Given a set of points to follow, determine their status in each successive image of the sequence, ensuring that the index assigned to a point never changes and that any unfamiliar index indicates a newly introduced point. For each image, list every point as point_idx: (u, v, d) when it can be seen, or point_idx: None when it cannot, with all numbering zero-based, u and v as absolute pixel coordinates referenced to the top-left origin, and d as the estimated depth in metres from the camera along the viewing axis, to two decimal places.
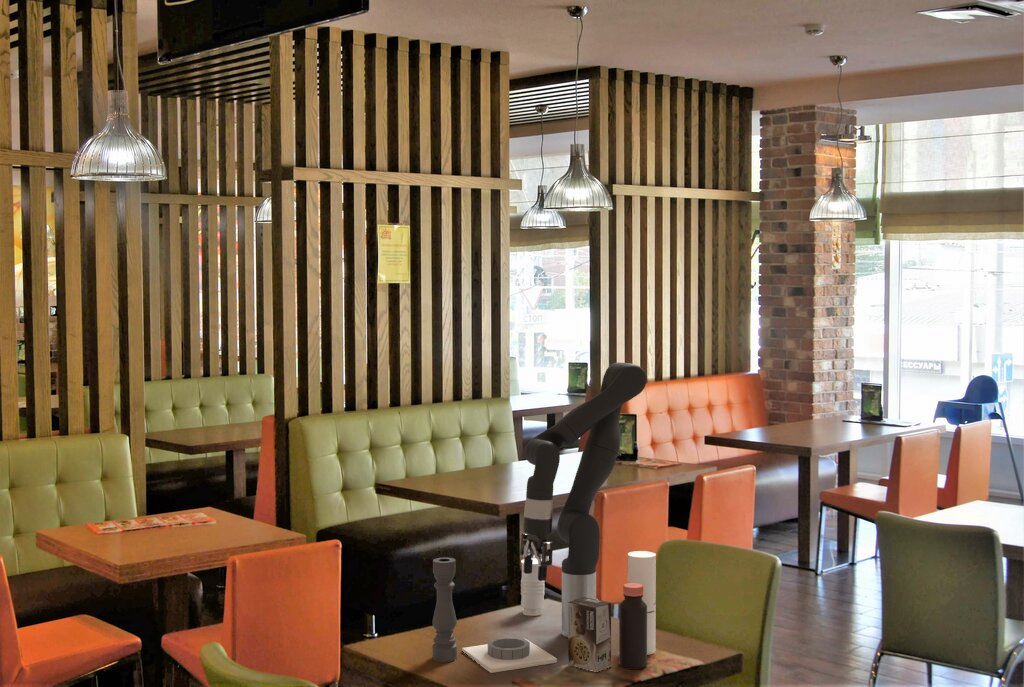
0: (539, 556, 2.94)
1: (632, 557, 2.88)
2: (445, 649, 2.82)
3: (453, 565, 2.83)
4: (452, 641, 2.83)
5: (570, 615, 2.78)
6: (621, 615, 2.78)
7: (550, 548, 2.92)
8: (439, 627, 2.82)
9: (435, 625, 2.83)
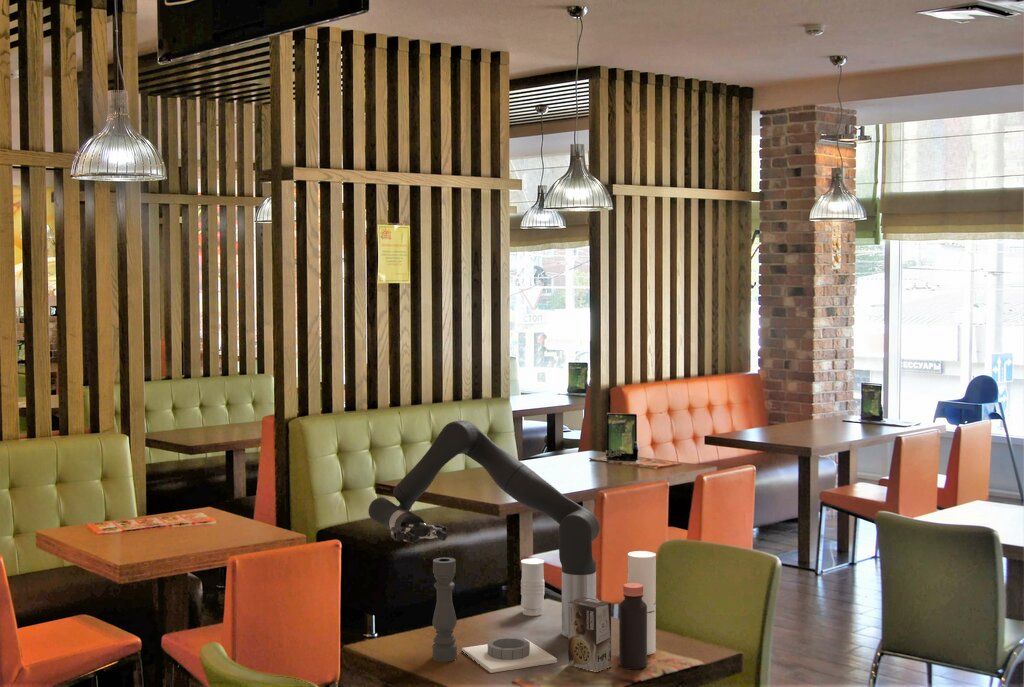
0: None
1: (632, 557, 2.88)
2: (445, 649, 2.82)
3: (453, 565, 2.83)
4: (452, 641, 2.83)
5: (570, 615, 2.78)
6: (621, 615, 2.78)
7: (392, 531, 2.98)
8: (439, 627, 2.82)
9: (435, 625, 2.83)
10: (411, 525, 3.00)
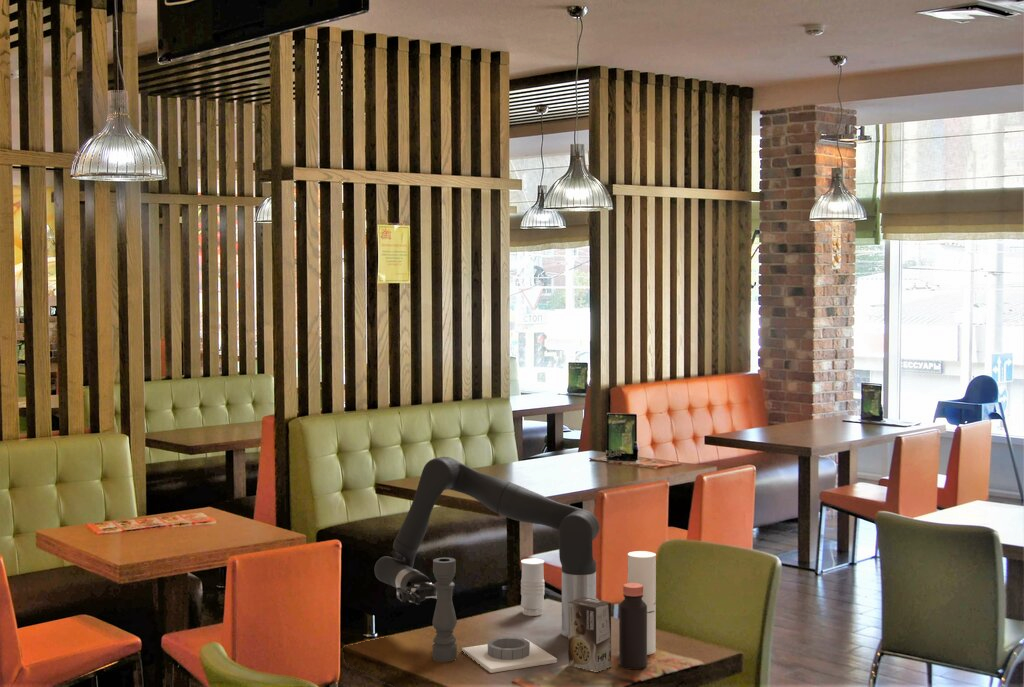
0: None
1: (632, 557, 2.88)
2: (445, 649, 2.82)
3: (453, 565, 2.83)
4: (452, 641, 2.83)
5: (570, 615, 2.78)
6: (621, 615, 2.78)
7: (397, 591, 2.96)
8: (439, 627, 2.82)
9: (435, 625, 2.83)
10: (417, 585, 2.97)
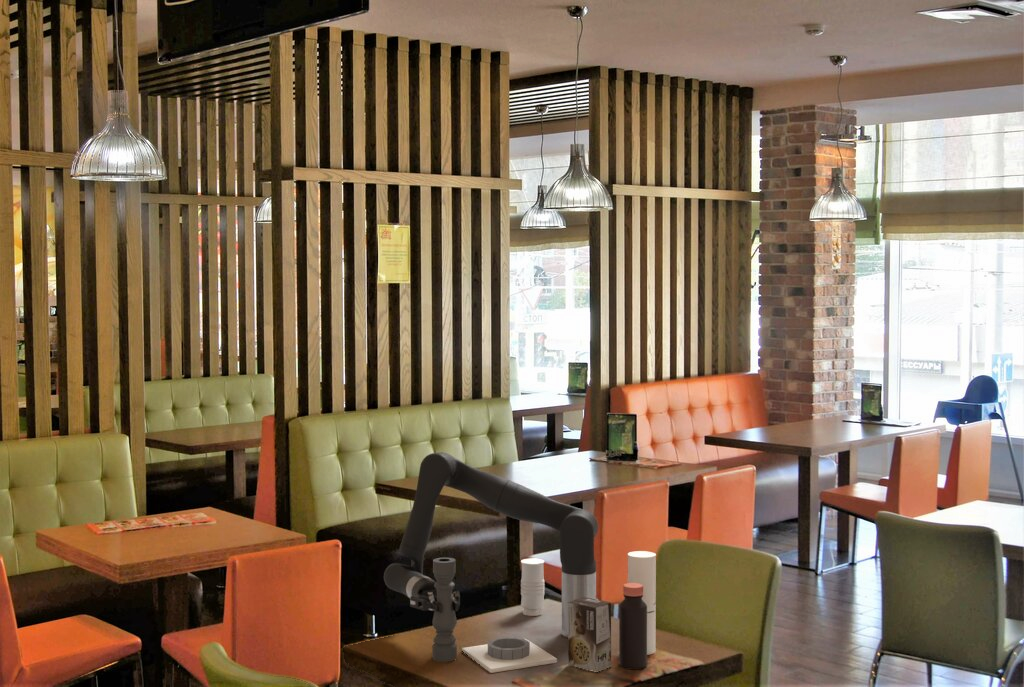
0: None
1: (632, 557, 2.88)
2: (445, 649, 2.82)
3: (453, 565, 2.83)
4: (452, 641, 2.83)
5: (570, 615, 2.78)
6: (621, 615, 2.78)
7: (413, 600, 2.87)
8: (439, 627, 2.82)
9: (435, 625, 2.83)
10: (430, 593, 2.89)
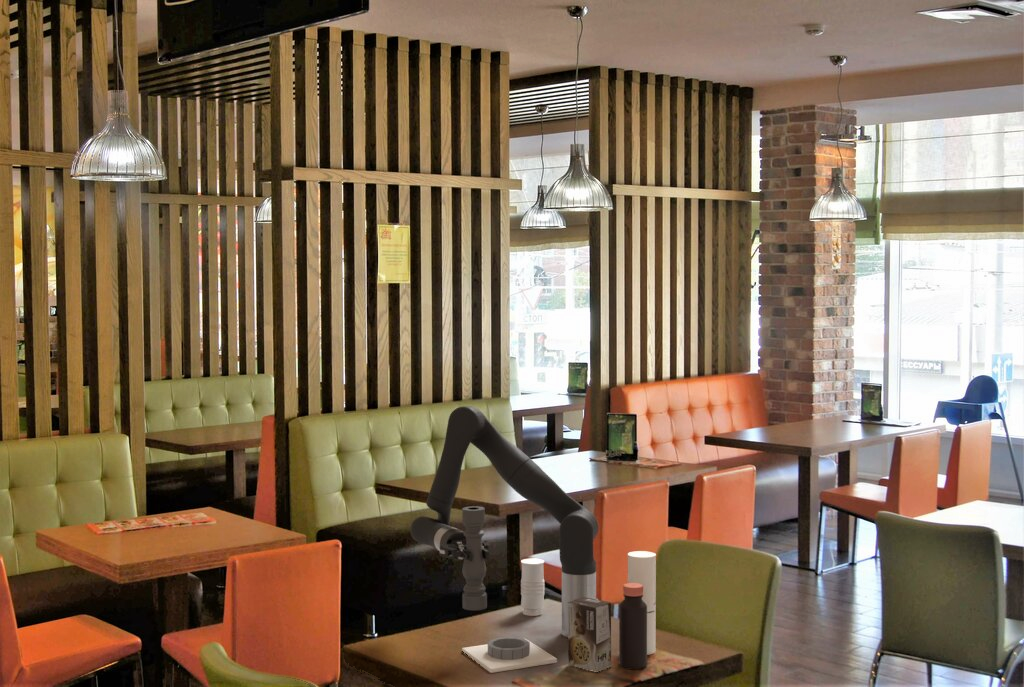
0: None
1: (632, 557, 2.88)
2: (475, 597, 2.82)
3: (483, 513, 2.82)
4: (482, 589, 2.83)
5: (570, 615, 2.78)
6: (621, 615, 2.78)
7: (442, 549, 2.87)
8: (469, 576, 2.82)
9: (465, 573, 2.82)
10: (459, 542, 2.89)
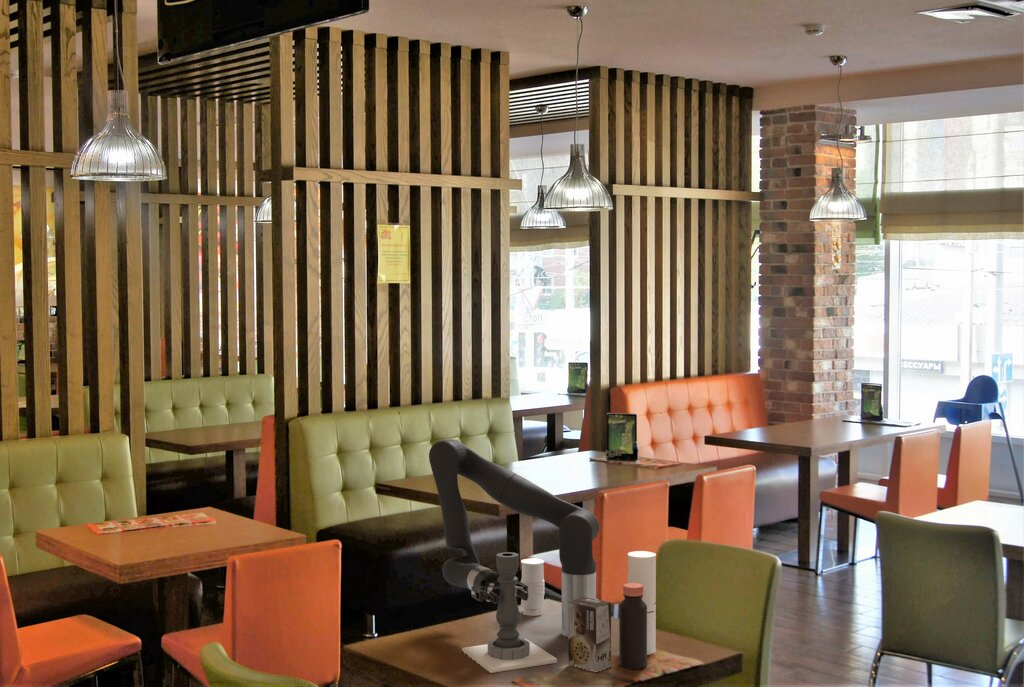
0: None
1: (632, 557, 2.88)
2: (509, 643, 2.83)
3: (517, 559, 2.84)
4: (516, 635, 2.84)
5: (570, 615, 2.78)
6: (621, 615, 2.78)
7: (473, 590, 2.89)
8: (503, 622, 2.83)
9: (499, 619, 2.84)
10: (492, 584, 2.90)
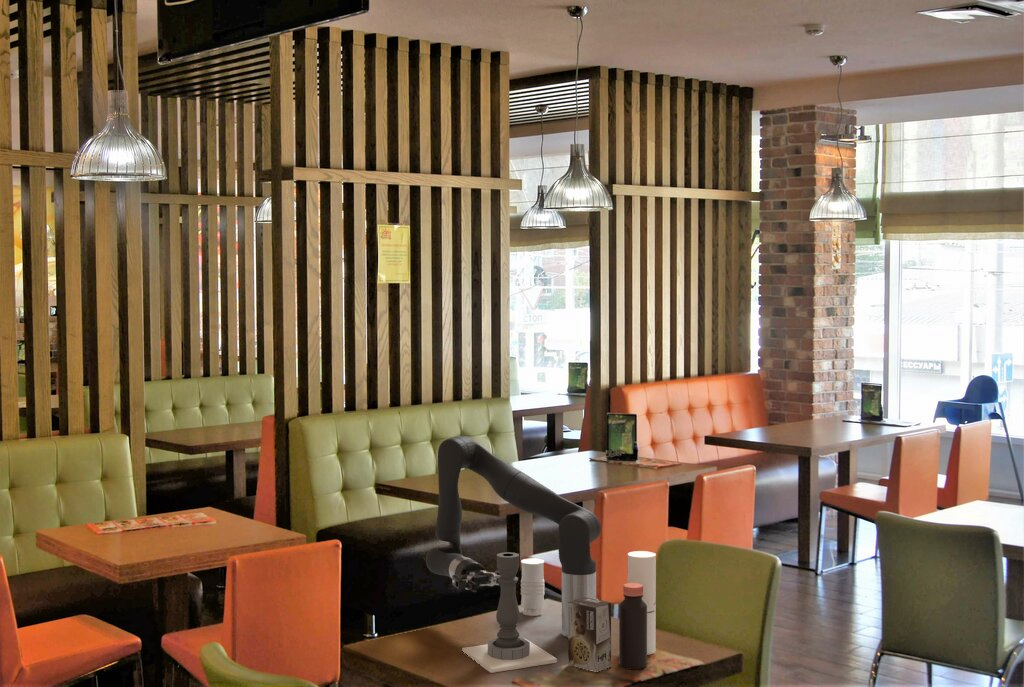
0: None
1: (632, 557, 2.88)
2: (509, 643, 2.83)
3: (517, 560, 2.84)
4: (516, 635, 2.84)
5: (570, 615, 2.78)
6: (621, 615, 2.78)
7: (453, 579, 3.00)
8: (504, 622, 2.83)
9: (499, 620, 2.84)
10: (472, 573, 3.02)
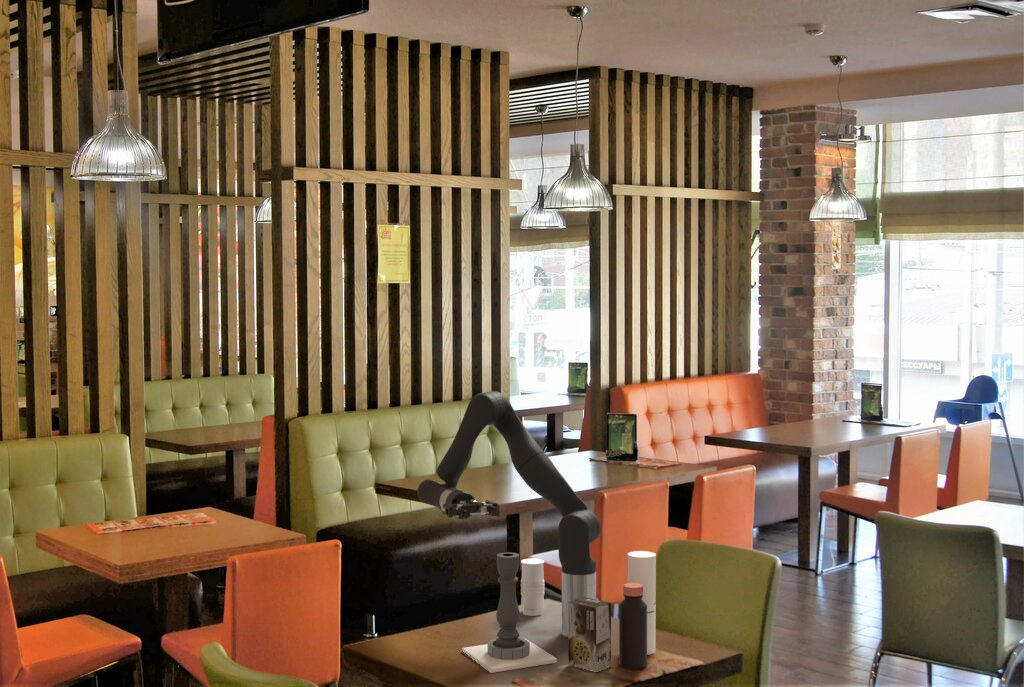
0: None
1: (632, 557, 2.88)
2: (509, 643, 2.83)
3: (517, 560, 2.84)
4: (516, 635, 2.84)
5: (570, 615, 2.78)
6: (621, 615, 2.78)
7: (443, 507, 3.03)
8: (504, 622, 2.83)
9: (499, 620, 2.84)
10: (462, 502, 3.04)
